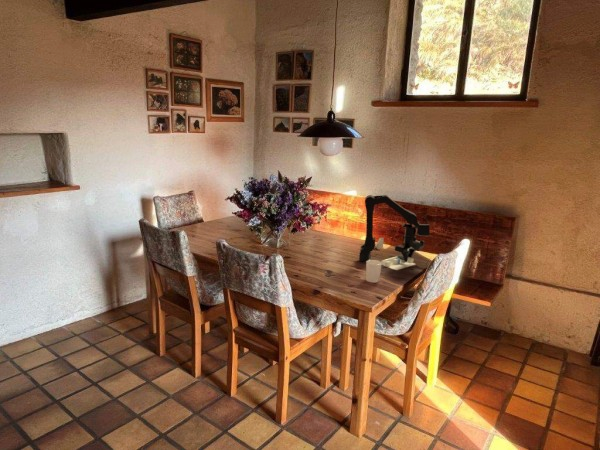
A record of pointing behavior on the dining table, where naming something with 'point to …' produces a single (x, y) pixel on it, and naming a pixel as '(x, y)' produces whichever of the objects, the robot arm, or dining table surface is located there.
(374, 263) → the white cup
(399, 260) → the backplate with stepped blocks
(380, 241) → the architectural model
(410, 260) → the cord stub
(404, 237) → the robot arm
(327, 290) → the dining table surface
